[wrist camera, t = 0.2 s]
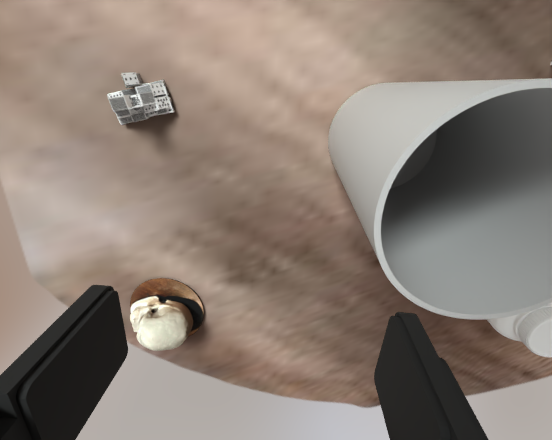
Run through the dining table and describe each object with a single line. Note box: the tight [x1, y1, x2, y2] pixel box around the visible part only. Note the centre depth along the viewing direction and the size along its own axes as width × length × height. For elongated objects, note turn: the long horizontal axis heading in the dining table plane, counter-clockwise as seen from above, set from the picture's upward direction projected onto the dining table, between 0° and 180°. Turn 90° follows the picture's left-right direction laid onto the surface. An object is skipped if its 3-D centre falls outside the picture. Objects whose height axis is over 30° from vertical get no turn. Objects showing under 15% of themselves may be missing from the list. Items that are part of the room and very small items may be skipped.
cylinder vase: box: [328, 79, 552, 319], centre depth 26 cm, size 12×12×25 cm
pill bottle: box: [487, 303, 552, 357], centre depth 37 cm, size 8×8×15 cm
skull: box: [130, 278, 204, 351], centre depth 49 cm, size 12×10×10 cm
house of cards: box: [107, 72, 175, 125], centre depth 33 cm, size 9×9×8 cm
